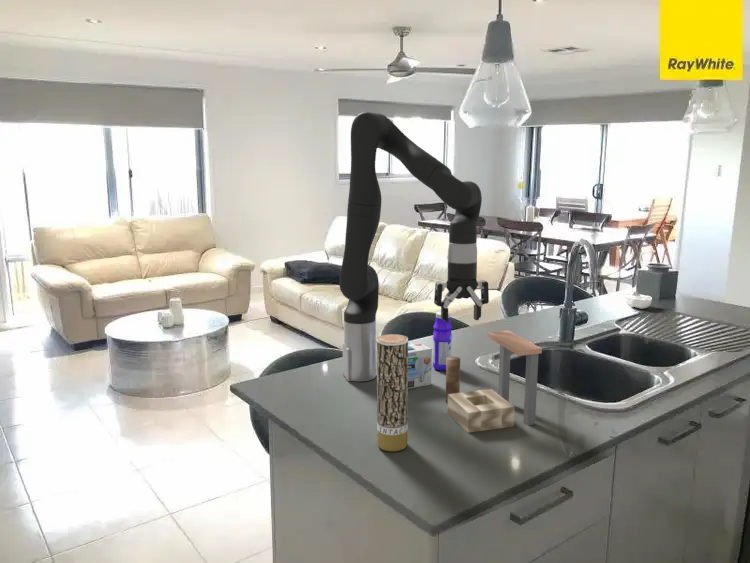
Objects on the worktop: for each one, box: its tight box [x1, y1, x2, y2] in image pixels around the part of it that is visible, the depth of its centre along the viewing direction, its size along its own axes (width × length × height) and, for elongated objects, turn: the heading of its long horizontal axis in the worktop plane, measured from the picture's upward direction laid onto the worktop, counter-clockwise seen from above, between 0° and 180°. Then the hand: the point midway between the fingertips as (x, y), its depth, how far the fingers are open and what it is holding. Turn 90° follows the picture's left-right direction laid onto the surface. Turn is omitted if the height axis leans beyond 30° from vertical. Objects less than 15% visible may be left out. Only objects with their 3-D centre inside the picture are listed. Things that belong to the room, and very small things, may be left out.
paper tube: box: [376, 333, 409, 453], centre depth 135 cm, size 7×7×25 cm
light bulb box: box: [408, 342, 433, 390], centre depth 174 cm, size 11×7×11 cm, turn 117°
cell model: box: [624, 291, 653, 310], centre depth 261 cm, size 10×12×7 cm
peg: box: [445, 356, 461, 405], centre depth 161 cm, size 4×4×12 cm
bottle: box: [432, 310, 453, 371], centre depth 187 cm, size 7×6×17 cm
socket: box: [447, 388, 515, 433], centre depth 151 cm, size 12×12×5 cm
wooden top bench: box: [486, 330, 543, 426], centre depth 153 cm, size 6×16×19 cm, turn 17°
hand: (461, 320), depth 162 cm, fingers open, 8 cm apart
